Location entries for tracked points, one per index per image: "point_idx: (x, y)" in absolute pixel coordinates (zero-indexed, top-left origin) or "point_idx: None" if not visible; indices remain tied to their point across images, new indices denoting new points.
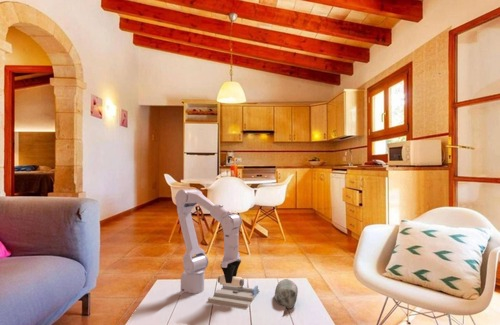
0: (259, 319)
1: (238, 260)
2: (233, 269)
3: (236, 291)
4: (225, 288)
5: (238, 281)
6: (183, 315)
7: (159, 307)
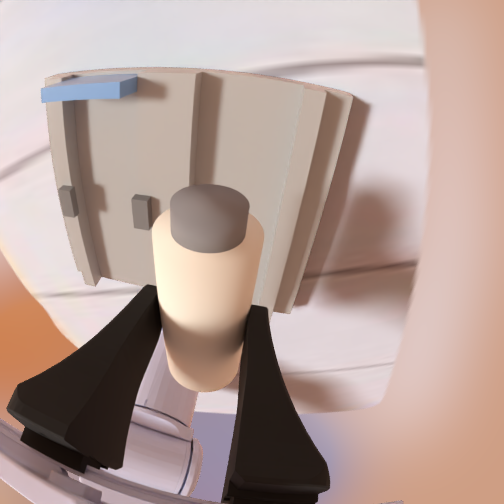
0: (407, 11)
1: (35, 428)
2: (281, 441)
3: (144, 208)
4: (98, 264)
5: (255, 261)
6: (366, 344)
7: (308, 394)
